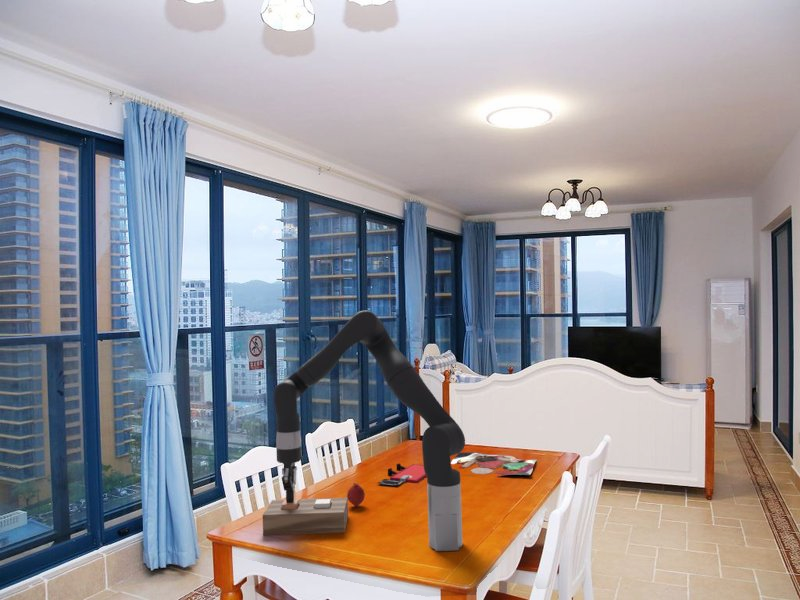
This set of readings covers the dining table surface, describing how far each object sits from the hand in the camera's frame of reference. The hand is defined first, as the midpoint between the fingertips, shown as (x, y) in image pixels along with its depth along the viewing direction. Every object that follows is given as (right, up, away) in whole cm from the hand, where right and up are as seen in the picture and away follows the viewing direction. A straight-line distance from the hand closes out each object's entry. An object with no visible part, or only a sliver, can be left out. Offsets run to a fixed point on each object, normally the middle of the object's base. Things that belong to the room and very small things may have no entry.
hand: (290, 502), depth 187 cm
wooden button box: (+5, -7, 0) cm, 9 cm away
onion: (+19, -7, +17) cm, 27 cm away
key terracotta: (0, -4, 0) cm, 4 cm away
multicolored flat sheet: (+72, -7, +65) cm, 97 cm away
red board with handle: (+36, -8, +52) cm, 64 cm away
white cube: (+10, -4, 0) cm, 11 cm away
